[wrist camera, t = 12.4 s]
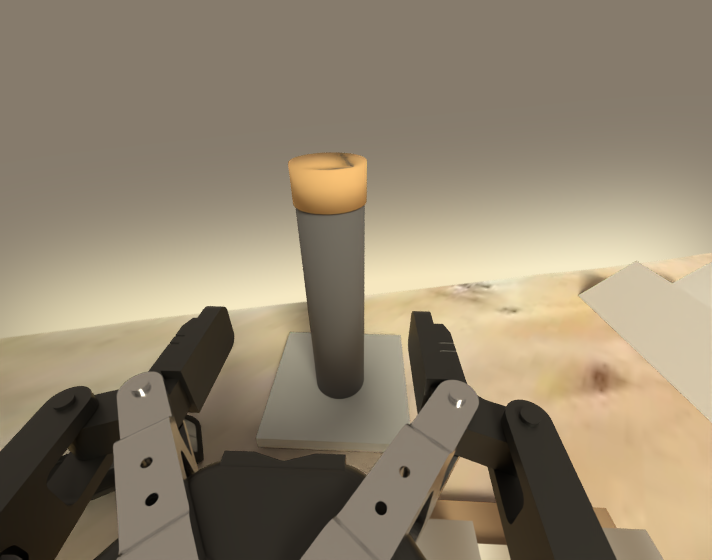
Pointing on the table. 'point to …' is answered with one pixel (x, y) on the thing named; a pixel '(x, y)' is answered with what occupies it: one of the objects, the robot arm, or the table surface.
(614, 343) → the table surface
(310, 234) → the grey orange cylinder
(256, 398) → the table surface
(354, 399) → the rubber mat
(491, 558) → the clamp block
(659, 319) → the z bracket
